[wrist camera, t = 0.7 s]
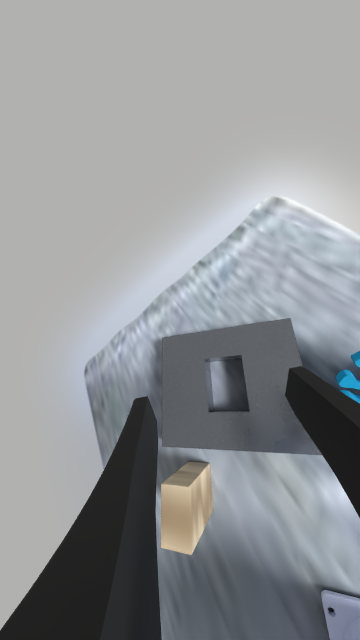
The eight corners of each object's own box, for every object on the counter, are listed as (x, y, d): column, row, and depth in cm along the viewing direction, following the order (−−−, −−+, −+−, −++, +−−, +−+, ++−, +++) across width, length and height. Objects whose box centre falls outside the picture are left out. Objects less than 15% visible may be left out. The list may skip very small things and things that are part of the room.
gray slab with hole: (319, 448, 20) (325, 455, 18) (171, 442, 25) (162, 446, 23) (288, 325, 24) (290, 318, 22) (169, 342, 30) (162, 337, 28)
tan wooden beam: (213, 510, 21) (191, 555, 15) (190, 506, 22) (161, 547, 16) (209, 463, 23) (188, 487, 17) (188, 461, 24) (161, 483, 18)
